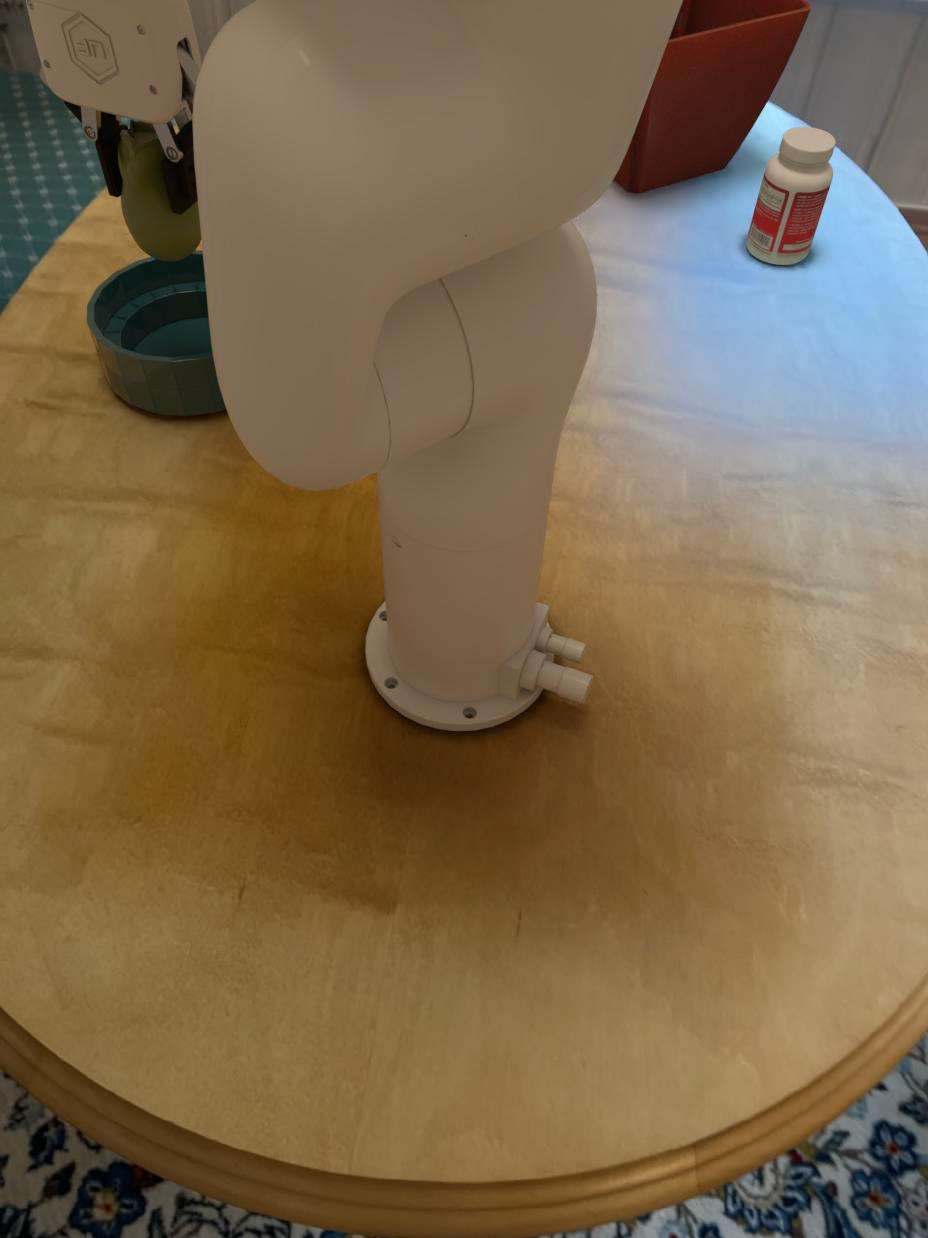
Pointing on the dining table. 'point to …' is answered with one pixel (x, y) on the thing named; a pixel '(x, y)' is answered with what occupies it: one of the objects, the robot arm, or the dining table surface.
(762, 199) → the pill bottle
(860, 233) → the dining table surface
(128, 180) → the pear
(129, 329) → the bowl
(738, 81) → the flower pot
